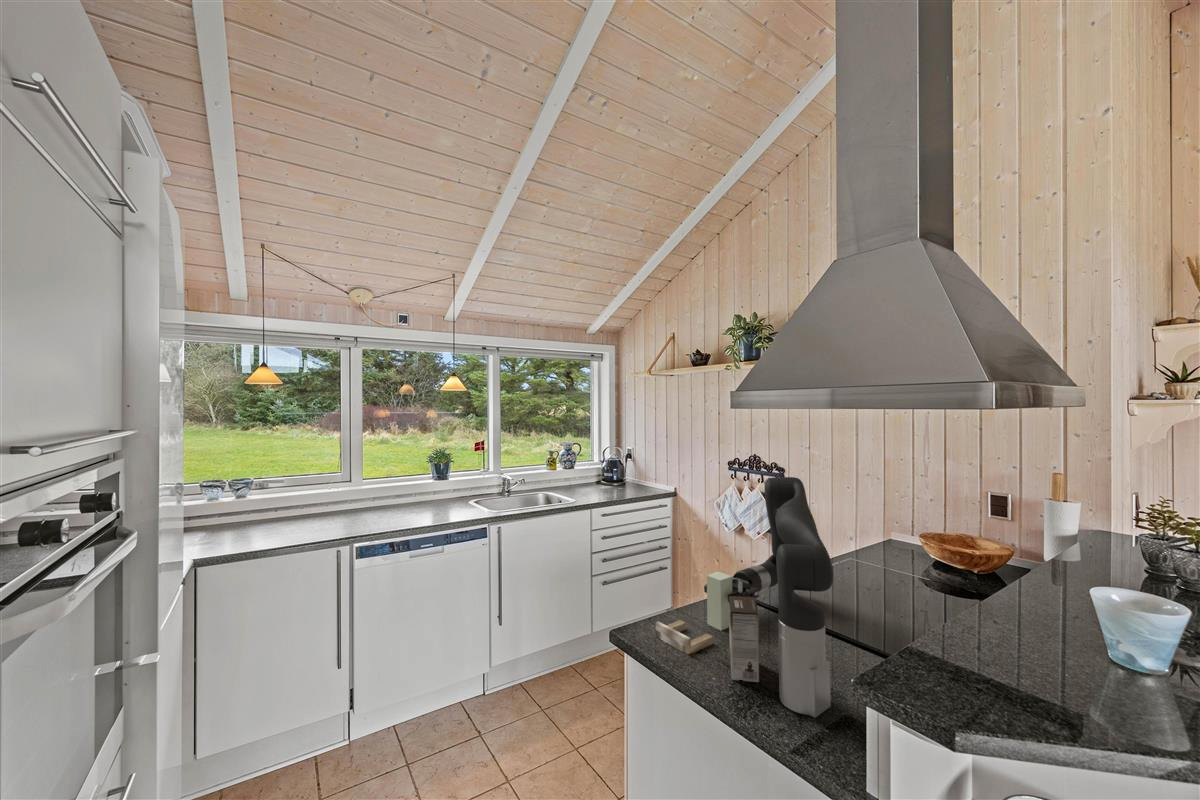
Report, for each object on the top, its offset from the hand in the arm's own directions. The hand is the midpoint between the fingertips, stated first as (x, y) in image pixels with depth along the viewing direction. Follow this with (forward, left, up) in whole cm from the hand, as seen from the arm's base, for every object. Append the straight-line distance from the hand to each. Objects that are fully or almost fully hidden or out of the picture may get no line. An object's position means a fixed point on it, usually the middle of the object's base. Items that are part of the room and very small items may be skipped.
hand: (716, 593), depth 139 cm
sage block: (0, -1, -9) cm, 9 cm away
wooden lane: (0, +14, -9) cm, 17 cm away
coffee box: (-19, +13, -9) cm, 25 cm away
